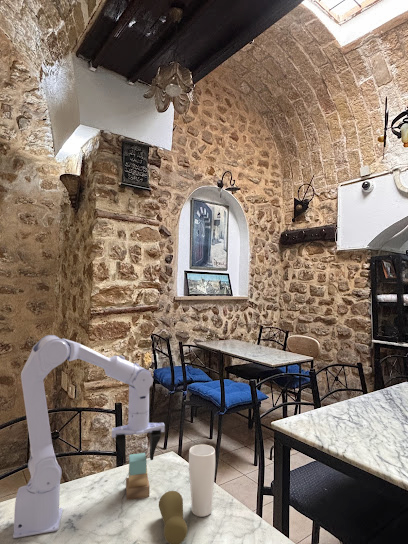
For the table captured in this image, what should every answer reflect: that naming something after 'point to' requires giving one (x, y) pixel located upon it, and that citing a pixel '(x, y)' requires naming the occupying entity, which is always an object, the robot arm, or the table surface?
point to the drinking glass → (202, 478)
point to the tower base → (137, 490)
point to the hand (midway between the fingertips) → (138, 460)
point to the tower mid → (138, 479)
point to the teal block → (137, 463)
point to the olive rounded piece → (173, 517)
